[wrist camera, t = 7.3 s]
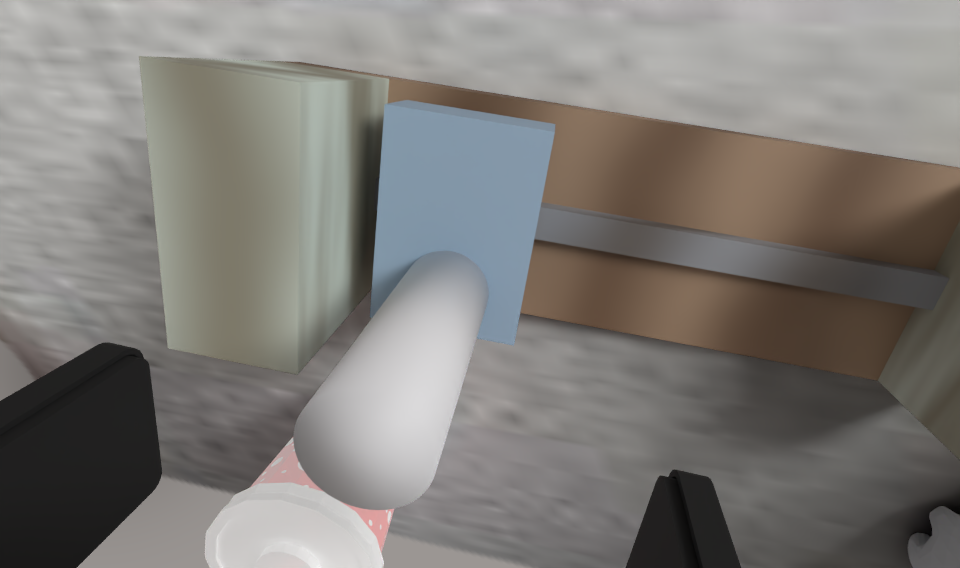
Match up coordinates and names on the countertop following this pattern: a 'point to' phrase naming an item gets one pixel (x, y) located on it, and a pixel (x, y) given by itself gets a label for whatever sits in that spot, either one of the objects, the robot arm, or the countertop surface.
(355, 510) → the beverage cup
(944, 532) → the bottle
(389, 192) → the carriage
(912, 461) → the countertop surface
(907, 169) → the rail stand
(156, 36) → the countertop surface
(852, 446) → the countertop surface
